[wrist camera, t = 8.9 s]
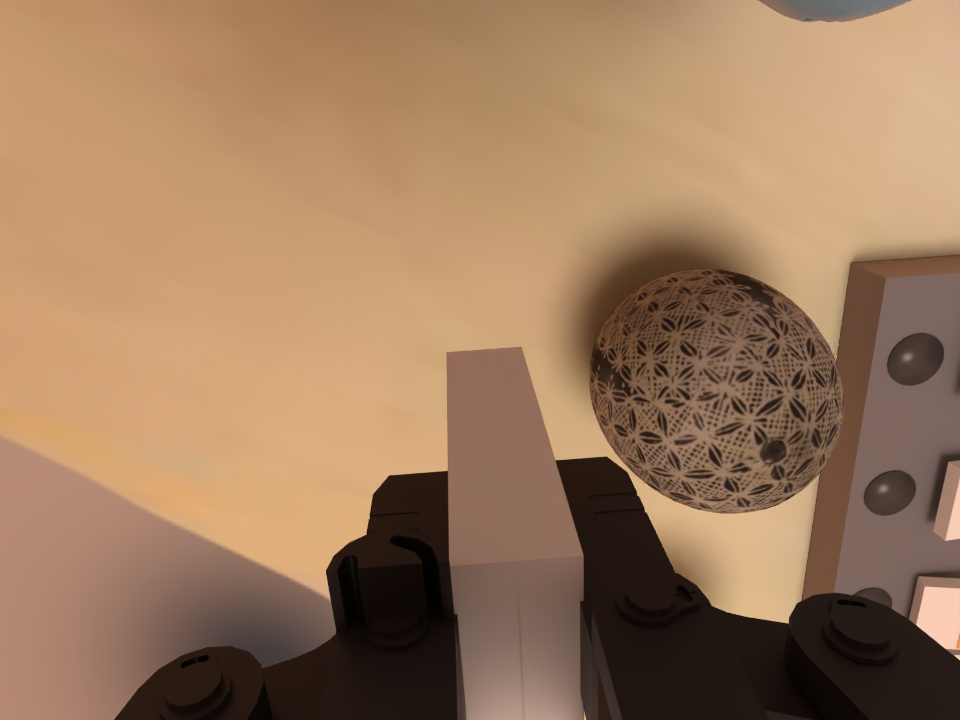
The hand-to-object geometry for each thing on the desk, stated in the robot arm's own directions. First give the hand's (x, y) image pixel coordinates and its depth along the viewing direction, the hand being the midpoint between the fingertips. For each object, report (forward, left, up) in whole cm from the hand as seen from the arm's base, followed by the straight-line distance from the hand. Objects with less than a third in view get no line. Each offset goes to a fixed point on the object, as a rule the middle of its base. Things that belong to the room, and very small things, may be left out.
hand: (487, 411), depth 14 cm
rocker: (+28, +30, -22) cm, 47 cm away
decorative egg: (+9, +12, -27) cm, 31 cm away
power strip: (+19, +28, -26) cm, 43 cm away
